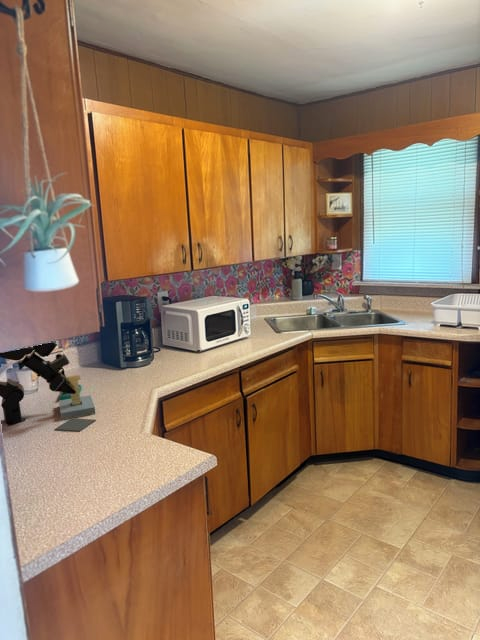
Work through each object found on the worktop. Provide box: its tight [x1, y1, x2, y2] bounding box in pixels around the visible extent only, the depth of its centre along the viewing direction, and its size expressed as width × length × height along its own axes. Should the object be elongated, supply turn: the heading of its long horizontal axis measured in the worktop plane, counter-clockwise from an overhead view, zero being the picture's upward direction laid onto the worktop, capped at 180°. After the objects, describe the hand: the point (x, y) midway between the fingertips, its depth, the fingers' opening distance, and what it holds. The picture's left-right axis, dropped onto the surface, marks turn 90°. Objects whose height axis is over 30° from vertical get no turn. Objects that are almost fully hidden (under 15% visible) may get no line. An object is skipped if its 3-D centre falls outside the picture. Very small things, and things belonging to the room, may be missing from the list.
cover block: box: [58, 394, 96, 421], centre depth 185 cm, size 12×16×2 cm
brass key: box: [66, 374, 81, 406], centre depth 184 cm, size 5×3×14 cm, turn 113°
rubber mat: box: [54, 417, 97, 433], centre depth 169 cm, size 10×10×1 cm
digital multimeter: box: [58, 384, 83, 401], centre depth 204 cm, size 7×15×3 cm, turn 11°
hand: (74, 389), depth 184 cm, fingers open, 9 cm apart
